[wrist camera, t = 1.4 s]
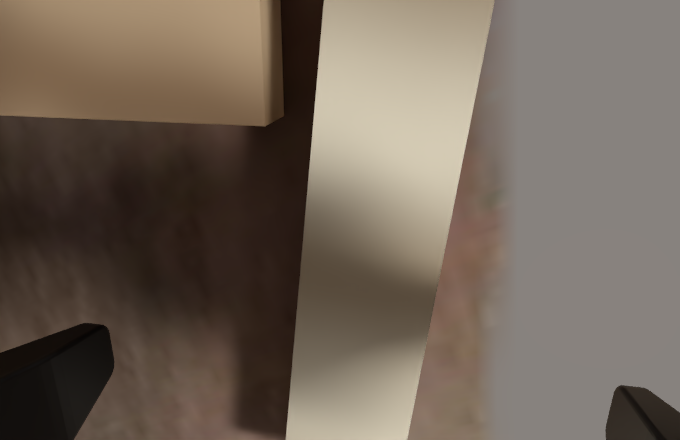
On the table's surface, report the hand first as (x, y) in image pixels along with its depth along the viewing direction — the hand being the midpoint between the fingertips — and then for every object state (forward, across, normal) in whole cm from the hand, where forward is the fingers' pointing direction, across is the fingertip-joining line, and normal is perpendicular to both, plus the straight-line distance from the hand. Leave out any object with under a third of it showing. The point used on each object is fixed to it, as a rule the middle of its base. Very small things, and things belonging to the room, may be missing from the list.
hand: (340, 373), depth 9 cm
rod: (+6, 0, 0) cm, 6 cm away
